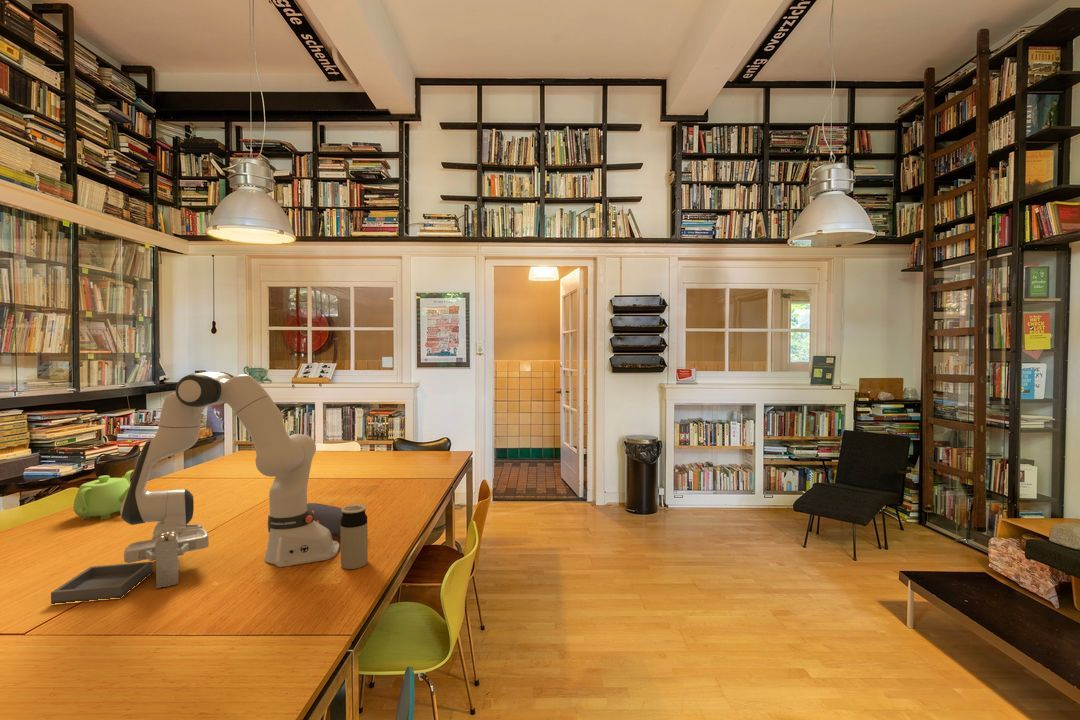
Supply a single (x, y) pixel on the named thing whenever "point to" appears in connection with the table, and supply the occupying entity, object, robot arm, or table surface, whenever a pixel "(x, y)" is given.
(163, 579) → the ball-topped square pillar
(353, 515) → the travel mug
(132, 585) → the charcoal bin
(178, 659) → the table surface
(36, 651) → the table surface
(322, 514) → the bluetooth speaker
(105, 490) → the teapot
